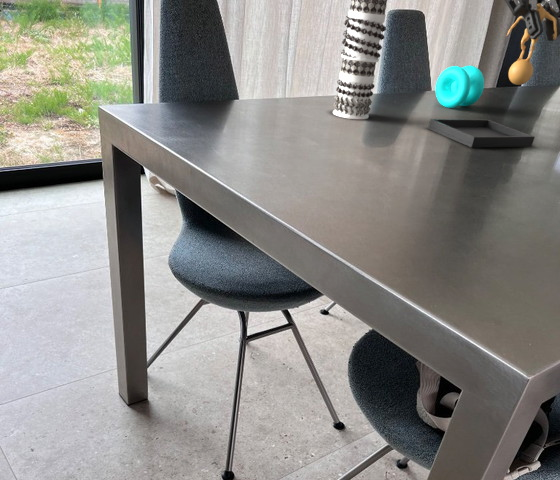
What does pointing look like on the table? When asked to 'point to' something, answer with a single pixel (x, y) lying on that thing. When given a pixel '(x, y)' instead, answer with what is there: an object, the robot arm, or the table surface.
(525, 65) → the figurine
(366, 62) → the decorative candle
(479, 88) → the donuts
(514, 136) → the base pad
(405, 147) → the table surface
